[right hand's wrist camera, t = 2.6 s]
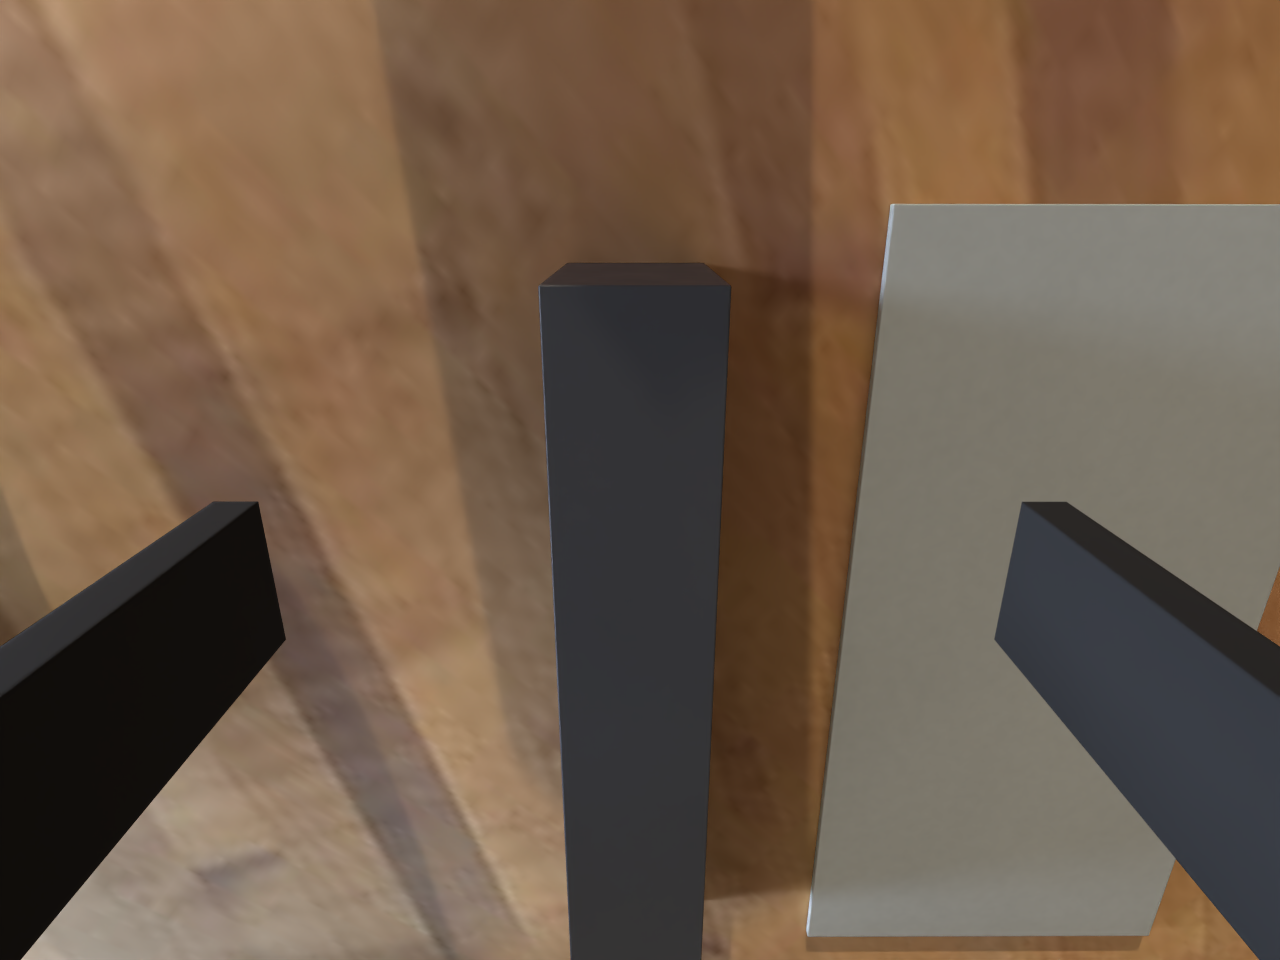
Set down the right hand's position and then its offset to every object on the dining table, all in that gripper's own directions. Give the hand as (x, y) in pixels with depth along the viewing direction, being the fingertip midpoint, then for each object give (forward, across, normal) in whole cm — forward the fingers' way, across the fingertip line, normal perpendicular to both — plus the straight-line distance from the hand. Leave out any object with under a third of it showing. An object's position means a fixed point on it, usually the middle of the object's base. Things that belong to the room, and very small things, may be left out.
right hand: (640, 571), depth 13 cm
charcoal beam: (+16, 0, -12) cm, 20 cm away
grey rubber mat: (+16, +18, -12) cm, 27 cm away
